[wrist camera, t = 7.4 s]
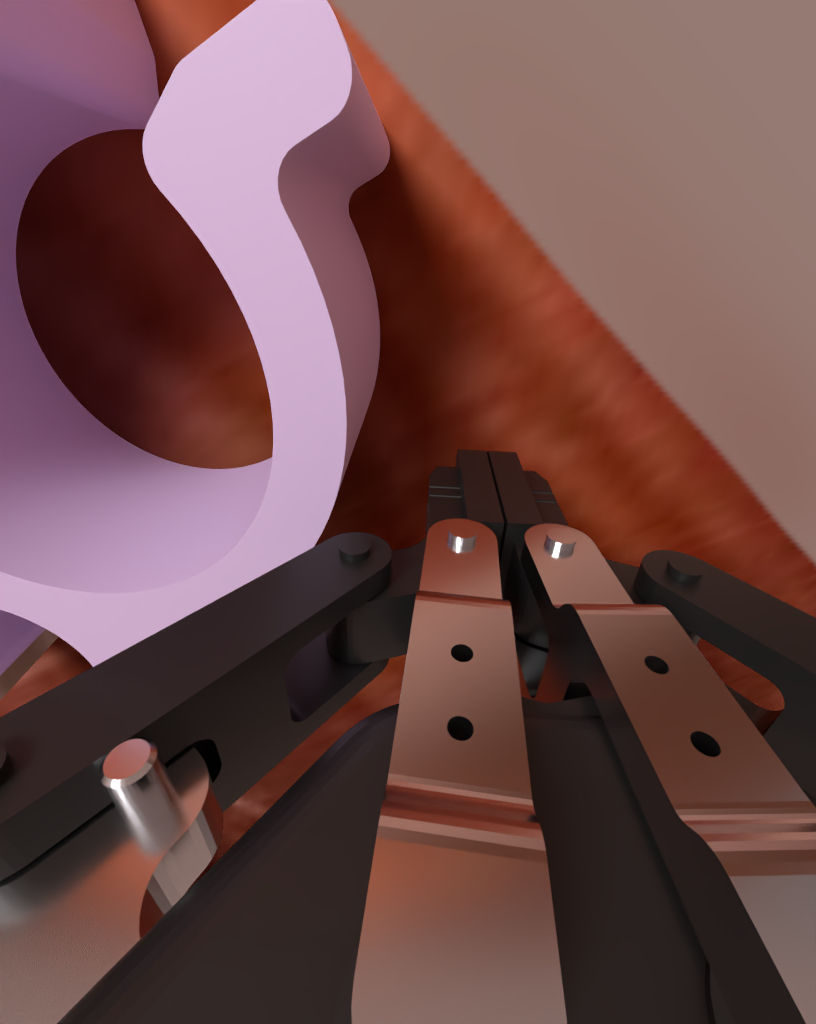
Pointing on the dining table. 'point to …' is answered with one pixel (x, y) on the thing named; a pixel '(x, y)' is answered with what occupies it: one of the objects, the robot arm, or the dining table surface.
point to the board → (25, 661)
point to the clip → (247, 270)
